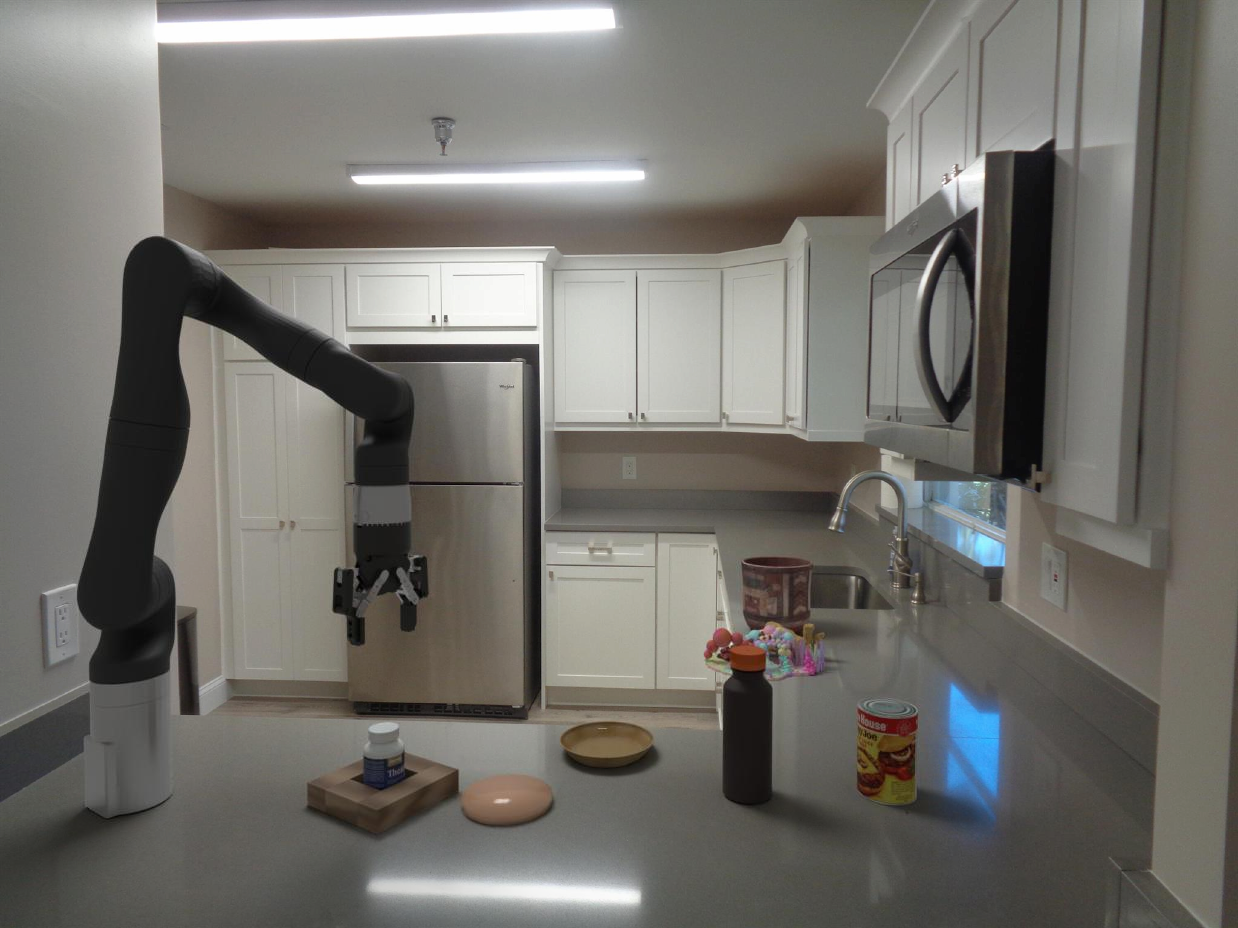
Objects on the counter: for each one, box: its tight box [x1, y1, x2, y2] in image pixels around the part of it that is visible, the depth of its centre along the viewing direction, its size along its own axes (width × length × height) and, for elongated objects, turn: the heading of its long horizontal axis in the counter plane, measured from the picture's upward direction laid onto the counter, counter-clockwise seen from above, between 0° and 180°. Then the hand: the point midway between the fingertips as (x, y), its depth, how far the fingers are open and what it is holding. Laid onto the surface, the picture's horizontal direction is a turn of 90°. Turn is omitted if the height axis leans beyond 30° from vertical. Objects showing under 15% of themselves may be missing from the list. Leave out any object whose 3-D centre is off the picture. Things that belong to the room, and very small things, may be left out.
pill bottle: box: [362, 721, 406, 791], centre depth 105 cm, size 5×5×10 cm
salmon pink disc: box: [461, 773, 553, 826], centre depth 103 cm, size 12×12×1 cm
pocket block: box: [306, 751, 460, 835], centre depth 105 cm, size 14×14×3 cm
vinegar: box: [721, 646, 774, 805], centre depth 106 cm, size 7×7×20 cm
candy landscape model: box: [703, 621, 826, 682], centre depth 167 cm, size 25×24×9 cm
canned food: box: [856, 696, 919, 807], centre depth 106 cm, size 8×8×12 cm
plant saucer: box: [558, 720, 655, 769], centre depth 120 cm, size 15×15×3 cm
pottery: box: [740, 555, 814, 635], centre depth 194 cm, size 18×18×18 cm
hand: (383, 637), depth 104 cm, fingers open, 8 cm apart
